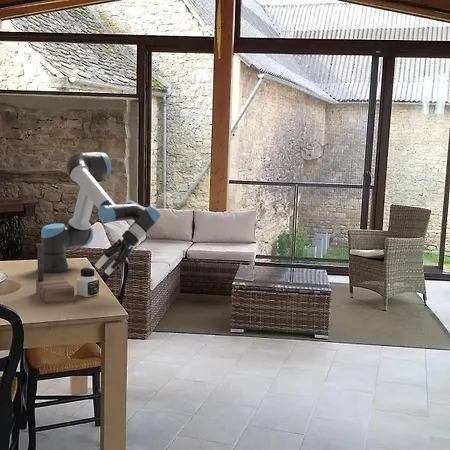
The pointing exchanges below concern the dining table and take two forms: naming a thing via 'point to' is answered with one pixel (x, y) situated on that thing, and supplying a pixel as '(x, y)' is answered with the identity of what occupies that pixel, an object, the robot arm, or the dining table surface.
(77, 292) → the medicine bottle
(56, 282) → the wooden stand
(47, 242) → the robot arm
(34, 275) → the dining table surface
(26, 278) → the dining table surface
